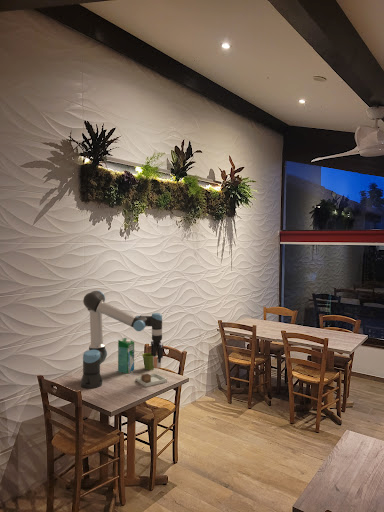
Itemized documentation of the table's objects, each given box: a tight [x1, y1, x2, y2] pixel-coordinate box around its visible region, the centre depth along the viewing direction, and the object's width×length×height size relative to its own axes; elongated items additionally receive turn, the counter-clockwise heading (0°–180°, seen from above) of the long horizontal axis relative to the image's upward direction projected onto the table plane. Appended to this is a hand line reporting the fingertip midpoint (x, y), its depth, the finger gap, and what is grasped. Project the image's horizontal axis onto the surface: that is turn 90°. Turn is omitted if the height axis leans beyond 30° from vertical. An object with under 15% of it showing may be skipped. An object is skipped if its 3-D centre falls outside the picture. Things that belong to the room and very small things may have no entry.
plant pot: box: [141, 352, 157, 371], centre depth 325 cm, size 12×12×11 cm
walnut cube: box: [140, 373, 151, 383], centre depth 293 cm, size 5×5×5 cm
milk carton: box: [117, 337, 135, 374], centre depth 318 cm, size 9×9×25 cm
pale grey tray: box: [135, 372, 168, 388], centre depth 296 cm, size 17×15×2 cm
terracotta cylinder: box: [154, 356, 161, 369], centre depth 298 cm, size 5×5×7 cm
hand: (156, 365), depth 298 cm, fingers closed on terracotta cylinder, 5 cm apart
